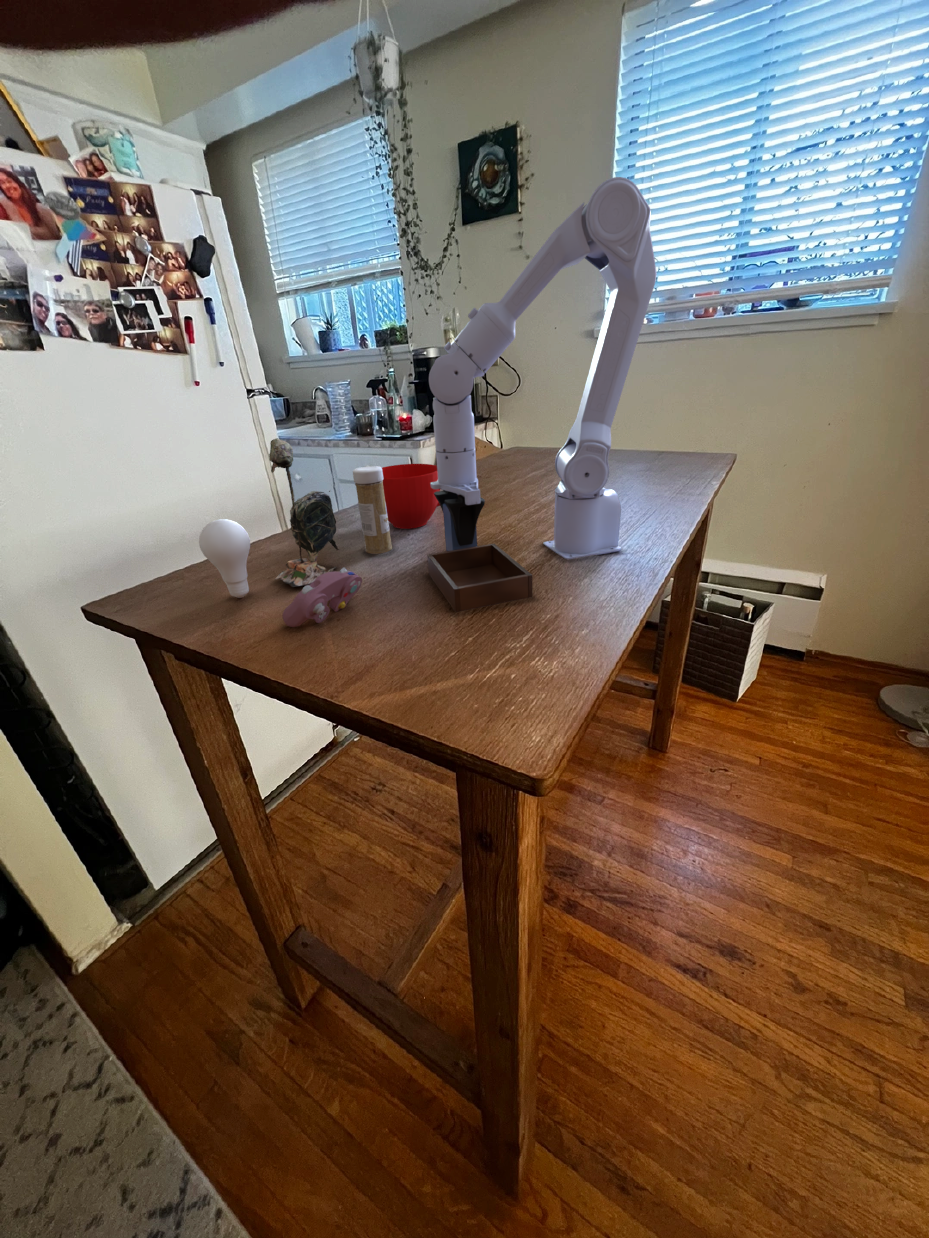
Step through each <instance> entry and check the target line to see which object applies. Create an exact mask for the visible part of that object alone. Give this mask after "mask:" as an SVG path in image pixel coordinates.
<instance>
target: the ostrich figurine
mask: <svg viewBox="0 0 929 1238" xmlns="http://www.w3.org/2000/svg"><path fill="white" fill-rule="evenodd" d="M268 457H269V461H270V463H272V465H271V470H270V473H274V472H275V470H276V468H280V469H285V472H286V477H287V481H288V487H289V491H290V497H291V498H290V499H291V505H292V506H291V507H290V510H289V515H290V519H289V523H290V531H291V533H292V537H293V538H294V542H295V545H296V546H298V548H299V557H300V558H296V559H291V560H288V561H287V562H286V563H285V567H286V569H285V570H283V571H281V573H278V575H277V576H276V577H275V578H274V580H275V581H276V580H279V579H280V581H283V582H284V583H285V584H287V585H289V586H290V587H291V588H295V587H302V586H307V585H310V584H311V583H312V582H313V581H314V580H315V579H316V578H317V577H318V576H320V575H321V574H324V573H327V572H333V571H335V570H334V569H336V568H337V566H334V567H332V568H330V569H328V570H327V571H326V567H324V566H321V565H319V563H318V562H317V559H318V555H319V552H321V551H322V550H323V549H324V548H325V547H326V545H327V544H328V543H330V544H331V546H332V547H333V549H335V551H340V548H339V547H338V544H337V543H336V541H335V539H334V536H335V534H336V532H337V526H336V524H337V520H336V516H335V513H334V510H333V504H332V503H333V502H332V499H331V497H330V495H329V494H328V493H330V492H331V490H329V491H328V493H326V492H324V491H318V490H312V491H309V492H308V493H306V494H305V495H304V496H302V497H300V498H297V499H296V501H295V494H294V487H293V482H292V477H291V471H290V468H291V467H292V466H293V462H294V449H293V447H292V445H291V444H290V443H288V442H287V441H285V440H283V439H280V438H273V439H272V440H270V450H269V454H268ZM302 549H303V550H305V551H306V553H307V558H303V557H302Z"/></svg>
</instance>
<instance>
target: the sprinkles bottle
mask: <svg viewBox="0 0 929 1238" xmlns="http://www.w3.org/2000/svg"><path fill="white" fill-rule="evenodd" d="M352 477H353V482H354V485H355V489H356V495H357V504H358V510H359V517H360V523H361V530H362V534H363V538H364V545H365V553H366V554H373V555H378V554H379V555H380V554H385V553H388V552H390V551H391V550H393V545H392V539H391V533H390V530H391V529H390V522H389V521H388V515H387V508H386V502H385V496H384V489H383V472H382V467H381V466H377V465H370V466H369V465H368V466H362V467H361V466H360V467H357V468H354V469H353V470H352Z"/></svg>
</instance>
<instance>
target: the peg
mask: <svg viewBox="0 0 929 1238" xmlns="http://www.w3.org/2000/svg"><path fill="white" fill-rule="evenodd" d="M442 513H443V525H444V528H443V529H444V539H445V552H446V551H452V550H458V549H464V548H470V547H476V546H478V531H477V528H476V529H475V535H474V540H473V544H469V545H463V546H460V545H459V544H458V541H457V538H456V533H455V528H454V523H453V520H452V517H451V514H450V512H449V509H448V508H447V506H446V504H443V511H442Z"/></svg>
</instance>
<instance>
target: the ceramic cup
mask: <svg viewBox="0 0 929 1238" xmlns="http://www.w3.org/2000/svg"><path fill="white" fill-rule="evenodd" d="M381 468H382V472H383V489H384V496H385V502H386V508H387V515H388V522H389V524H391V525H392V526H393V527H394V528H395V529H396V528H397V529H401V530H409V529H410V530H411V529H417V528H420V527H424V526H426V525H427V524H428V522H429V520H431V518H432V516H433V514H434V513H435V511H436V509H437V507H441V506H440V504H439V502H438V500H437V499H436V497H435V495H434V493H435V492H438V491H441V489H432V488H431V484H430V483H431V482H436V481H437V480H438V472H437V464H430V463H401V464H393V465H388V466H382V467H381Z"/></svg>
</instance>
